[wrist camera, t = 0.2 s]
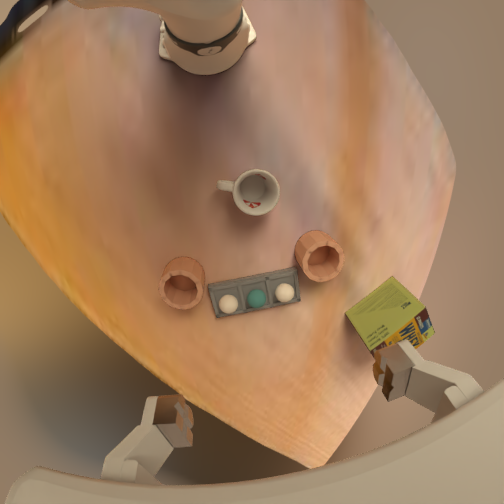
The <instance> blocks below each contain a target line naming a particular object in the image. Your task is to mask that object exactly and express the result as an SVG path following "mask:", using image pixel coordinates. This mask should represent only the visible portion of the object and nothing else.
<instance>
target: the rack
mask: <svg viewBox="0 0 504 504" xmlns="http://www.w3.org/2000/svg"><path fill="white" fill-rule="evenodd" d="M283 283H286V284H289V285H291V286H292V287H293V289H294V296H293V298H292V299H291V300H290V301H288V302H281V301H279V300H278V299H277V298H276V295H275V290H276V288H277V287H278V286H279V285H280V284H283ZM208 289H209V293H210V296H211V300H212V304H213V307H214V311H215V314H216V317H217V318H220V317H224V316H229V315H234V314H240V313H247V312H250V311H255V310H260V309H265V308H272V307H275V306H279V305H284V304H289V303H293V302H299V301H301V299H300V290H299V281H298V273H297V269H296V267H292V268H287V269H282V270H278V271H273V272H268V273H263V274H258V275H253V276H248V277H243V278H238V279H233V280H228V281H222V282H217V283H212V284H208ZM254 289H259V290H262V291H263V292H264V293H265V295H266V302H265V304H264V305H263V306H262V307H260V308H253V307H251V306H250V305H249V304H248V301H247V296H248V294H249V292H250V291H252V290H254ZM225 295H232V296H234V297H235V298H236V299H237V301H238V307H237V309H236V311H235V312H233V313H230V314H228V313H224V312H223V311H222V310H221V309H220V307H219V301H220V299H221V298H222V297H223V296H225Z"/></svg>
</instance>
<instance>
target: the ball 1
mask: <svg viewBox="0 0 504 504" xmlns="http://www.w3.org/2000/svg"><path fill="white" fill-rule="evenodd" d="M219 307H220V309H221V310H222V311H223V312H224V313H228V314H230V313H233V312H235V311H236V309H237V307H238V301H237V299H236V298H235V297H234V296H232V295H225V296H223V297H222V298H221V299H220V301H219Z"/></svg>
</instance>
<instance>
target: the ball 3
mask: <svg viewBox="0 0 504 504" xmlns="http://www.w3.org/2000/svg"><path fill="white" fill-rule="evenodd" d="M275 295H276V298H277V299H278V300H279V301H281V302H288V301H290V300H291V299H292V298H293V296H294V289H293V287H292V286H291V285H289V284H286V283H283V284H280V285H279V286H278V287H277V288H276V290H275Z"/></svg>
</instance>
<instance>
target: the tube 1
mask: <svg viewBox="0 0 504 504" xmlns="http://www.w3.org/2000/svg"><path fill="white" fill-rule="evenodd" d="M204 282H205V274H204V270H203V268H202V266H201V265H200V264H199V263H198V262H197V261H196V260H194V259H192V258H189V257H178V258H175V259H173V260H172V261H170V262H169V264H168V265H167V266H166V268H165V270H164V273H163V275H162V277H161V280H160V284H159V292H160V295H161V298H162V300H163V301H165V302H166V303H167V304H168V305H169V306H170V307H173V308H177V309H180V310H183V309H189V308H193V307H194V306H195V305H196V304H198V303H199V302H200V300H201V297H202V294H203V290H204Z"/></svg>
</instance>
